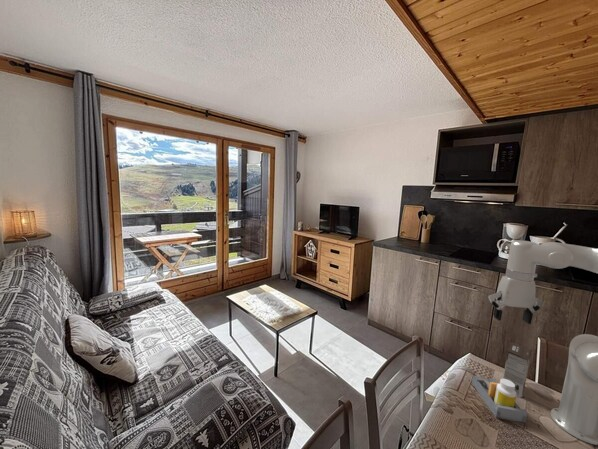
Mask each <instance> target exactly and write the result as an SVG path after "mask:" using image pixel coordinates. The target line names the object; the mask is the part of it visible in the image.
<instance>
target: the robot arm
mask: <svg viewBox="0 0 598 449" xmlns="http://www.w3.org/2000/svg"><path fill="white" fill-rule="evenodd" d="M537 265H540V266H543V267H547V268H551V269H564V268H568V267H574V268H578V269H582V270H585V271H589V272H592V273H594V274H595V273H596V274H598V248H596V247H588V246H583V245H578V244H577V245H576V244H569V243H563V242H555V241H547V242H543V243H541V244H538V243H536V242H533V241H529V240H518V239H517V240H512V241H511V243H510V245H509V252H508V258H507V264H506V269H505V270H506V271H505V275H502V277H501V279H500V281H499V283H498V287H497V290H496V292H495V293H492V294H489V295H488V296H487V298H488V301H489V303H490V304H491V305H492V306H493V307H494V308H493V318H494V319H496V320H497V321H500V322H501V321H502V317H503V310H502V309H504V308H505V307H506V306H507V307H514V308H524V310H523V314H522V318H521V319H522V321H524V323H527V324H528V325H532V320H533V317H534V316H533V315H534V314H536V312H537V311H538V310H540V309H541V307H542V306H543V305H544V303H545V302H544V301H543V300H541V299H539V298H538V297H536V291H537V290H536V281H534V280H535V278H538V274H537V273H536V270H537ZM567 359H568V360H567V362H568V363H567V368H566V373H565V377H564V381H563V386H562V391H561V395H560V396H561V397H560V401H559V405H558V407H554V408H551V411H550V416H551V418H552V420H553V422H555V423H556V424H557V425H558V426H559V428H561V429H563V431H564V432H566V433H568V434H570V435H571V436H573V437H574V438H577V439H578V440H581V441H583V442H584V443H587V444H590V445H595V446H598V336H597V335H594V334H590V333H589V334H588V333H583V334H578V335H576V336H574V337H573V338H572V339H571V341H570V343H569V347H568V358H567Z"/></svg>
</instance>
